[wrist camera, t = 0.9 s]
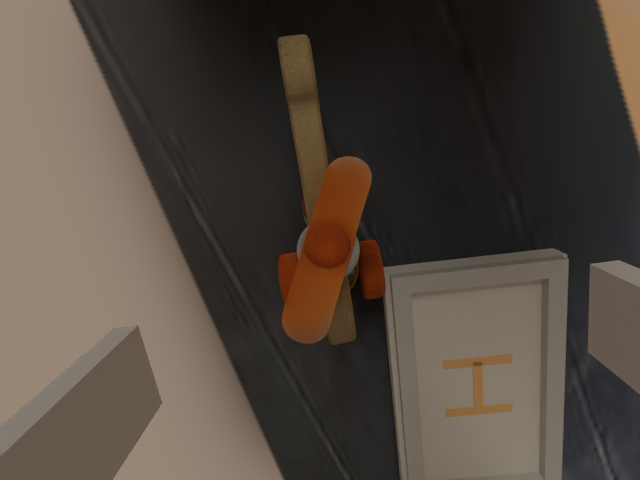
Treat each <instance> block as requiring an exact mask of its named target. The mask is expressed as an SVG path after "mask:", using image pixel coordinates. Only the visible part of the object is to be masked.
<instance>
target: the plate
mask: <svg viewBox="0 0 640 480" xmlns="http://www.w3.org/2000/svg"><path fill="white" fill-rule="evenodd" d="M383 268H384V275H385V284H386V291H385V295H384V296H383V303H384V313H385V324H386V335H387V346H388V356H389V367H390V378H391V389H392V399H393V410H394V421H395V431H396V442H397V453H398V464H399V474H400V480H562V452H563V422H564V391H565V360H566V329H567V299H568V268H569V259H568V258H567V254H565V253H563V252H561V251H558V250H556V249H554V248H550V249H541V250H532V251H523V252H514V253H505V254H496V255H488V256H479V257H470V258H461V259H452V260H443V261H434V262H425V263H417V264H408V265H399V266H390V267H383Z"/></svg>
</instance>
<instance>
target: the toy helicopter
mask: <svg viewBox="0 0 640 480" xmlns="http://www.w3.org/2000/svg"><path fill="white" fill-rule="evenodd" d="M278 50H279V57H280V64H281V71H282V77H283V82H284V88H285V93H286V98H287V103H288V108H289V114H290V120H291V126H292V132H293V138H294V143H295V149H296V155H297V160H298V166H299V172H300V178H301V184H302V189H303V195H304V196H303V199H302V202H301V210H302V213H303V217H304V219H305V222H306V225H307V228H306V229H305V230H304V231H303V232H302V234H301V235H300V238H299V240H298V243H297V252H293V253H287V254H282V255H281V256H280V257H279V261H278V275H279V283H280V289H281V293H282V297H283V301H284V304H285V306H284V310H283V313H282V325H283V329H284V331H285V332H286V334H287V335H288V336H289V337H290V338H291V339H293V340H295V341H297V342H299V343H303V344H312V343H316V342H318V341H320V340H322V339H323V338H324V337H325V336H326V335H327V336H328V340H329V342H330V344H331V345H337V344H341V343H346V342H351V341H354V340H355V339H356V327H355V320H354V313H353V307H352V300H351V294H350V290H351V289H352V288H353V286H354V284H355V282H356V280H357V278H358V277H359V282H360V287H361V292H362V296H363V298H365V299H374V298H380V297H383V296H384V295H385V291H386V284H385V275H384V268H383V262H382V257H381V253H380V249H379V246H378V243H377V242H376V241H375V240H365V241H358V238H357V236H356V233H357V229H358V226H359V222H360V219H361V216H362V213H363V209H364V206H365V203H366V199H367V196H368V193H369V190H370V186H371V183H372V174H371V171H370V168H369V167H368V165H367V164H366V163H365V162H364V161H362V160H361V159H359V158H356V157H352V156H345V157H341V158H338V159H336V160H335V161H333V162H332V163H331V164H330V165H329V164H328V157H327V151H326V144H325V138H324V132H323V126H322V120H321V114H320V106H319V98H318V90H317V83H316V76H315V69H314V62H313V56H312V49H311V44H310V40H309V37H308V36H307V35H305V34H301V35H292V36H284V37H280V38H278Z"/></svg>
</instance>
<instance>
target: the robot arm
mask: <svg viewBox="0 0 640 480" xmlns="http://www.w3.org/2000/svg"><path fill="white" fill-rule="evenodd" d="M588 352H589V353H590V354H591V355H592V356H594V357H595V358H596V359H597V360H598V361H600V362H601V363H602V364H603V365H605V366H606V367H607V368H608V369H610V370H611V371H612V372H613V373H614V374H616V375H617V376H618V377H619V378H621V379H622V380H623V381H624V382H625V383H627V384H628V385H629V386H630V387H632V388H633V389H634V390H635V391H636V392H638V393H639V394H640V269H639V268H637V267H634V266H632V265H629V264H627V263H625V262H622V261H620V260H617V261H609V262H602V263H595V264H590V288H589V324H588ZM161 404H162V401H161V398H160V395H159V391H158V388H157V385H156V382H155V379H154V375H153V372H152V369H151V366H150V363H149V359H148V356H147V353H146V350H145V347H144V343H143V340H142V337H141V334H140V331H139V327H138V326H131V327H123V328H116V329H113V330H112V331H110V332H109V333H108V334H107V335H106V336H105V337H104V338H102V339H101V340H100V341H99V342H98V343H97V344H95V345H94V346H93V347H92V348H91V349H90V350H88V351H87V352H86V353H85V354H84V355H83V356H81V357H80V358H79V359H78V360H77V361H76V362H74V363H73V364H72V365H71V366H70V367H69V368H67V369H66V370H65V371H64V372H63V373H62V374H61V375H59V376H58V377H57V378H56V379H55V380H54V381H52V382H51V383H50V384H49V385H48V386H47V387H45V388H44V389H43V390H42V391H41V392H40V393H39V394H37V395H36V396H35V397H34V398H33V399H32V400H30V401H29V402H28V403H27V404H26V405H25V406H24V407H22V408H21V409H20V410H19V411H18V412H16V413H15V414H14V415H13V416H12V417H11V418H9V419H8V420H7V421H6V422H5V423H4V424H3V425H1V426H0V480H113V478H114V477H115V475H116V474H117V472H118V470H119V469H120V467H121V466H122V464H123V463H124V461H125V459H126V458H127V457H128V455H129V453H130V452H131V450H132V449H133V447H134V446H135V444H136V443H137V441H138V439H139V438H140V436H141V435H142V433H143V432H144V430H145V428H146V427H147V426H148V424H149V422H150V421H151V419H152V418H153V416H154V415H155V413H156V412H157V410H158V409H159V407H160V405H161Z"/></svg>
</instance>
